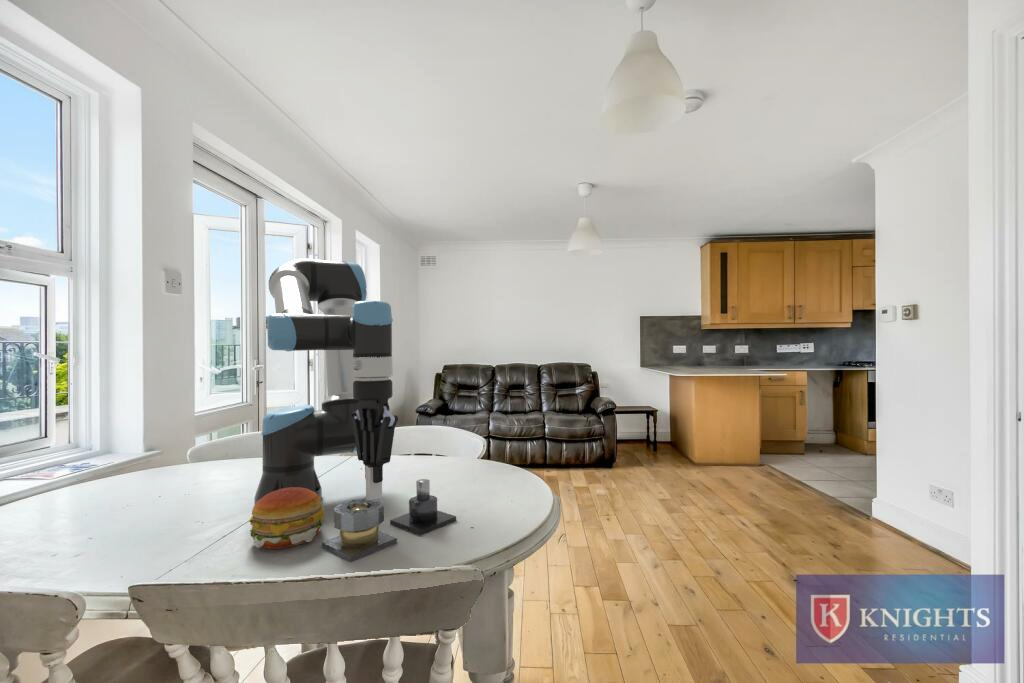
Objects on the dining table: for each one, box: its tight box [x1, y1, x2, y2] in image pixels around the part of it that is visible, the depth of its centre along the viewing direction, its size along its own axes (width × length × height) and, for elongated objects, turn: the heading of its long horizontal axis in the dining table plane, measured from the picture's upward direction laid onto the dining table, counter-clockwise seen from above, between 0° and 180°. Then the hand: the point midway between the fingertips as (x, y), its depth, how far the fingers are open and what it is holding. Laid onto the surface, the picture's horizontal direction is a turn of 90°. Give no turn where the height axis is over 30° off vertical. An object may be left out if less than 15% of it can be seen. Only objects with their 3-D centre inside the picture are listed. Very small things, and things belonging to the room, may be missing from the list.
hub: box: [321, 506, 398, 563], centre depth 88 cm, size 10×10×7 cm
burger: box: [249, 487, 325, 550], centre depth 92 cm, size 13×14×10 cm
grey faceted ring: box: [333, 497, 385, 531], centre depth 89 cm, size 9×9×3 cm
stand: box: [389, 478, 457, 537], centre depth 100 cm, size 10×10×9 cm
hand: (374, 497), depth 91 cm, fingers closed
